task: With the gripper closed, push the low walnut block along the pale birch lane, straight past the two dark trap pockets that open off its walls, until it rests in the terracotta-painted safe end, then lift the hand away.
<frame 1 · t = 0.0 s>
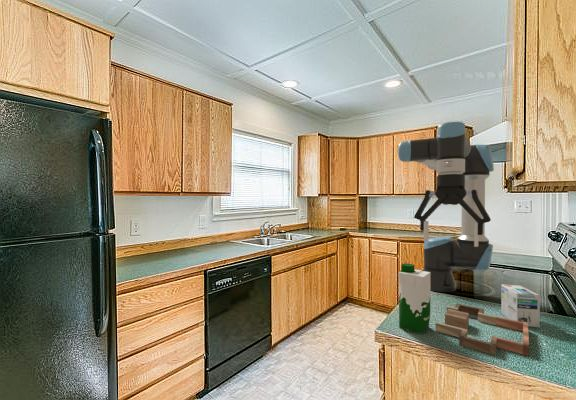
hand: (449, 243, 89), 28 cm above the counter, tool pointing down, fingers open, 13 cm apart
block: (456, 325, 96), on the counter
milk carton: (414, 327, 94), on the counter
lane: (478, 330, 92), on the counter
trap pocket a: (468, 315, 104), on the counter
light bulb box: (519, 320, 100), on the counter
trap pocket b: (477, 346, 82), on the counter
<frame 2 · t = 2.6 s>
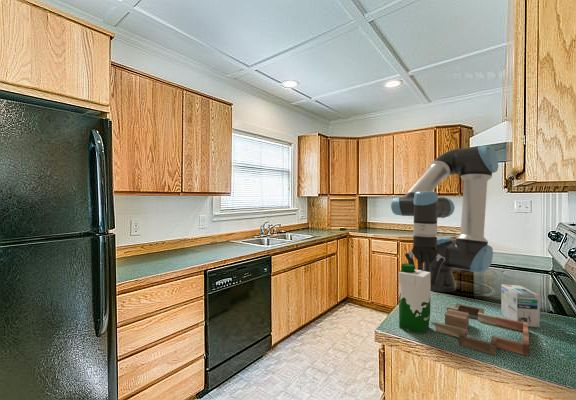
hand: (423, 302, 102), 5 cm above the counter, tool pointing down, fingers closed
nothing on the counter moved.
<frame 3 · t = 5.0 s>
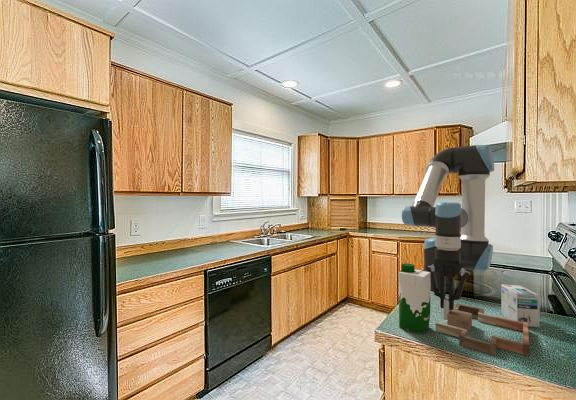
hand: (446, 318, 98), 1 cm above the counter, tool pointing down, fingers closed
block: (459, 326, 95), on the counter, touching gripper
everything else where it was.
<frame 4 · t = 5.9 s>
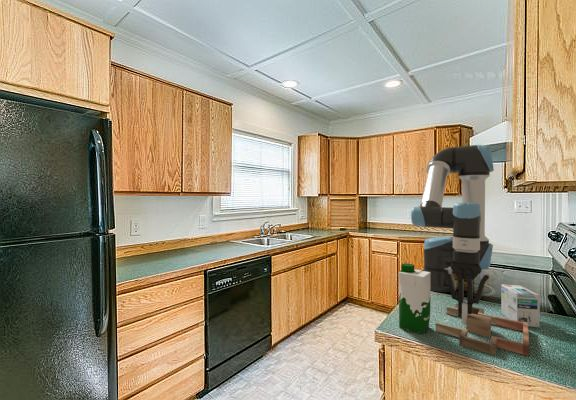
hand: (465, 322, 94), 1 cm above the counter, tool pointing down, fingers closed
block: (478, 330, 92), on the counter, touching gripper
everything else where it was.
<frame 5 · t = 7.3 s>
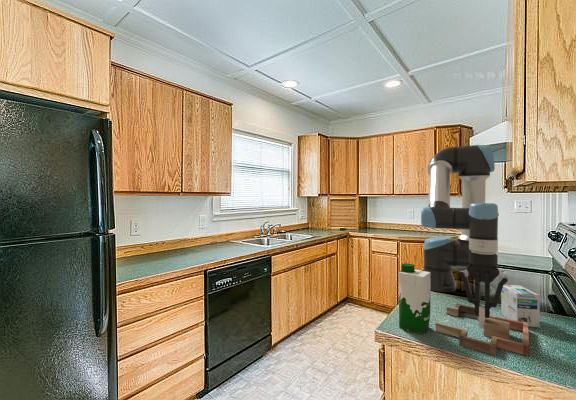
hand: (482, 326, 92), 1 cm above the counter, tool pointing down, fingers closed
block: (496, 335, 89), on the counter
everything else where it was.
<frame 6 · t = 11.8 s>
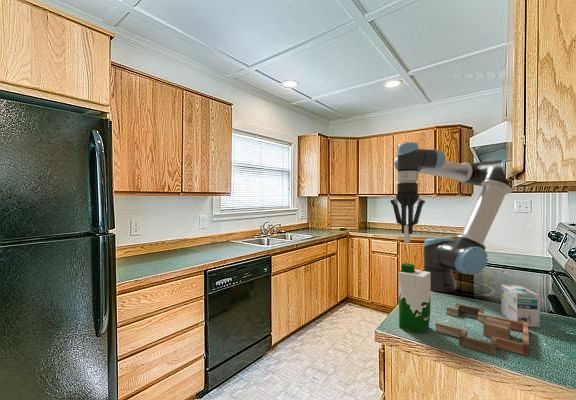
hand: (407, 241, 115), 24 cm above the counter, tool pointing down, fingers closed
nothing on the counter moved.
at the end: block inside the target area (1.2 cm from its centre), on the counter; block tilted 0°; block moved 10.8 cm from its start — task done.
